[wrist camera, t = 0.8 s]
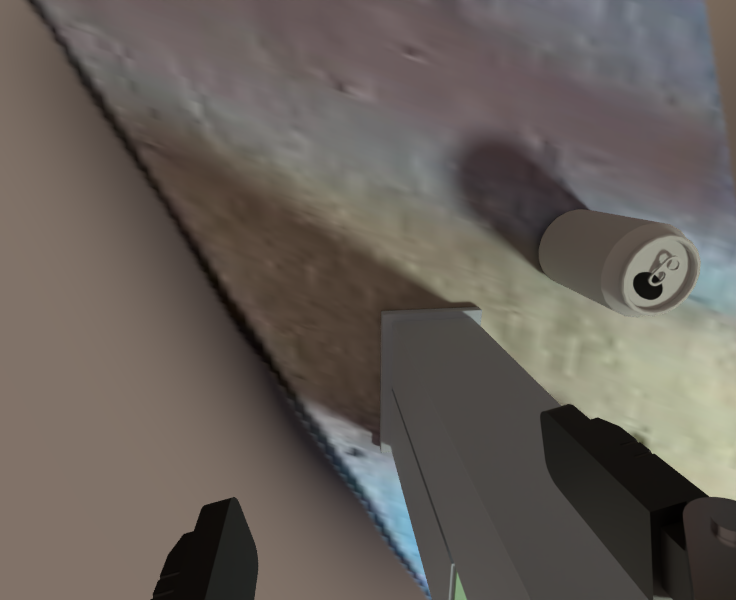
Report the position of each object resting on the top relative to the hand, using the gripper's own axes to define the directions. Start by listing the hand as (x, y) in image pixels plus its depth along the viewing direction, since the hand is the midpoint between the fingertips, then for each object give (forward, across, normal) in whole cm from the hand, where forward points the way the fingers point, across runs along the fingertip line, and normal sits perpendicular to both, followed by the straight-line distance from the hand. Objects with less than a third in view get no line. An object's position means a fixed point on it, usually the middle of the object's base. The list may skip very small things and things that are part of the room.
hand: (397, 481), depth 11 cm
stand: (+31, -6, +14) cm, 35 cm away
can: (+30, -23, +4) cm, 38 cm away
